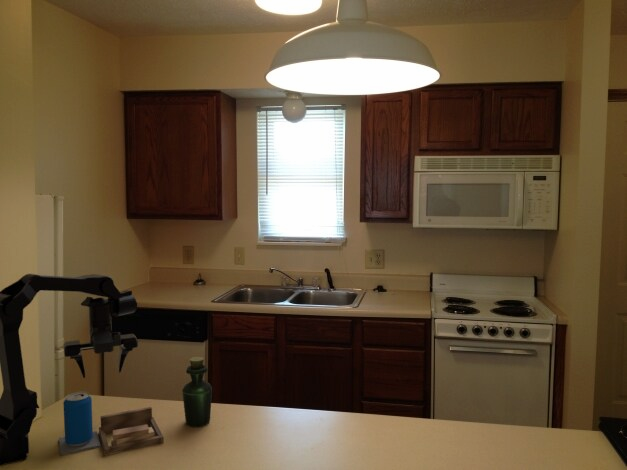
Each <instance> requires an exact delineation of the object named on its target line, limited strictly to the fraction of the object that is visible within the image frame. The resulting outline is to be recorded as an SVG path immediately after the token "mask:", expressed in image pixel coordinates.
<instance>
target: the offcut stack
mask: <svg viewBox="0 0 627 470" xmlns="http://www.w3.org/2000/svg"><path fill="white" fill-rule="evenodd" d="M151 437H156V435H155V433H154V430H153V429H152V427H151V426H150V427H149V425H141V426H135V427H129V428H124V429H118V430H113V432H112V439H111V440H110V446H114V445H118V444H123V443H128V442H132V441H137V440H142V439H146V438H151Z"/></svg>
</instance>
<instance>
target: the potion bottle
mask: <svg viewBox="0 0 627 470" xmlns="http://www.w3.org/2000/svg"><path fill="white" fill-rule="evenodd" d="M204 360H205V358H204V357H202V356H193V357H191V358H189V362H190V365H189V366H187V368H186V369H185V370H186V374H188V375H189V376H190V378H191V381H190V382H188V383H186V384H184V387H183V388H182V390H181V392H182V393H181V394H182V400H183V401H182V402H183V411H184V417H185V423H186V425H187V426H189V427H192V428H200V427H204V426H206V425H207V424H209V423H210V421H211V412H212V411H211V408H212V398H213V397H212V396H213V387H212V385H211V383H210V382H207V381H205V380H203V378H204V376H205V375H204V374H205V373H207V372H208V370H209V369H208V367H207V365H206V364H204Z"/></svg>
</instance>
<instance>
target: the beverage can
mask: <svg viewBox="0 0 627 470" xmlns="http://www.w3.org/2000/svg"><path fill="white" fill-rule="evenodd" d="M64 398H65V399H64V400H63V402H62V403H63V423H64V424H63V426H64V428H63V429H64V430H63V431H64V437H65V443H66V444H69V445H70V446H81V445H84V444H86V443H88V442H89V441H90V440H91V439H92V438H93V431H94V430H93V429H94V428H93V407H92V406H93V404H92V397H91V396H90V393H89V392H88V391H75V392H71V393H68V394H67V395H66V396H65V397H64Z"/></svg>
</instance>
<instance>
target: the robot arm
mask: <svg viewBox="0 0 627 470" xmlns="http://www.w3.org/2000/svg"><path fill="white" fill-rule="evenodd" d="M41 291H45V292H46V291H49V292H50V291H53V292H78V293H82V294H86V295H89V296H87V297H86V298H85V299H84V300H83V301H82V302H81V303H80V306H81V307H87V308H88V320H89V321H88V323H89V328H88V329H89V342H84V343H83V342H82V343H80V340H78V339H76V340H70V341H65V342H64V343H63V355H64V357H66V358H68V357H69V359H71V360H75V362H76V363H77V365H78V367H79V370H80V373H81V375H82V377H83V379H85V378H86V371H85V370H86V369H85V366H84V365H85V364H84V360H83V354H82V351H88V350H89V351H90V350H93V352H94V353H95V354H97V355H99V354H102V353H103V354H104V353H112V352H113V351H115V349H114V347H118V360H117V361H118V362H117V363H118V365H117V369H118V373H119V374H120V373H122V372H121V371H122V369H123V367H124V363H125V359H126V357H127V356H128V355H129V352H133V350H134V349H135V348H138V346H139V345H138V344H139V341H138V338H137V337H136V335H135V334H134V333H127V334H122V333H121V332H120V331H116V332H113V330H112V329H113V327H112V326H113V325H112V316H113V317H119V316H120V317H121V316H124V315H129V314H130V315H131V314H134V313H135V312H136V311H137V308H138V302H137V299H136V298H135V296H134V295H133V291H132V290H128V289H127V290H122V291H120V290H119V289H118V288H117V287H116V285H115V282H114V280H113V278H112V277H111V276H109V275H101V274H95V273H93V274H92V273H91V274H86V275H85V274H84V275H81V276H58V275H57V276H56V275H42V274H41V275H40V274H34V273H26V274H25V275H23V276H21V277H20V278H19V279H18V280H16V281H15V282H12V283H11V284H10V285H8V286H6V287H4V288H2V289H1V290H0V371H1V372H0V373H1V374H0V375H1V379H2V380H1V381H2V388H3V389H2V393H1V395H0V466H1V465H7V464H12V463H16V462H22V461H25V460H27V457H28V455H29V453H30V445H29V444H30V441H29V439H30V438H29V437H30V436H29V434H30V431H31V428H32V425H33V421H34V419H35V418H36V417H37V415H38V409H40V407H39V406H40V405H39V404H38V393H37V392H36V391H34V390H31V389H28V388H27V383H26V378H25V377H26V376H25V375H26V374H25V369H24V362H23V360H24V359H23V355H22V353H23V352H22V345H21V338H20V328H21V325H22V322H23V320H24V309H26V307H28V306H29V305H30V304H31V303H32V302H33V300H34V298H35V297H36V296H37V294H38V293H39V292H41ZM90 295H91V296H90ZM92 296H97V297H96V298H94V297H92ZM105 298H106V299H105Z"/></svg>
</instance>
